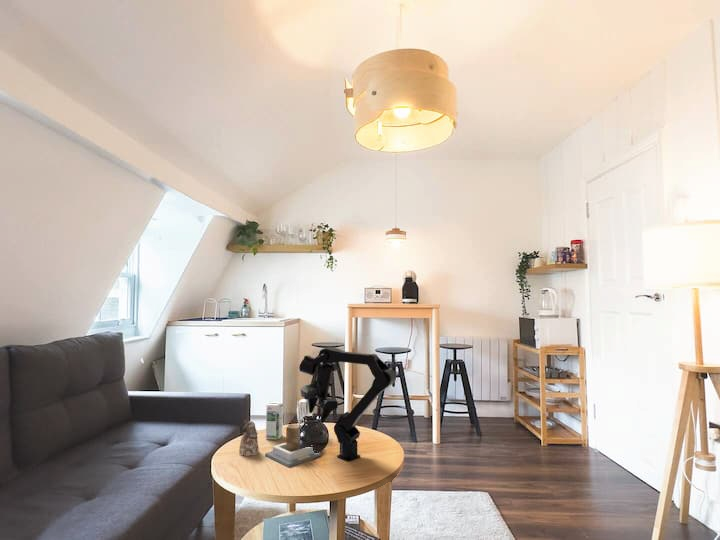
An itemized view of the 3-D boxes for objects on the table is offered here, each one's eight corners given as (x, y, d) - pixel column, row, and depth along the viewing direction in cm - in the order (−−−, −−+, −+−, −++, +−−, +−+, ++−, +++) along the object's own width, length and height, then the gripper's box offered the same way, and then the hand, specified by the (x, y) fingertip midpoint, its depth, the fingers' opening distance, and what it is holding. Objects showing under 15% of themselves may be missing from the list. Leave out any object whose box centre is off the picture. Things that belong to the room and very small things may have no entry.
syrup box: (265, 439, 173) (266, 404, 174) (270, 434, 178) (271, 401, 180) (278, 440, 172) (278, 405, 173) (282, 435, 178) (283, 401, 179)
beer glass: (315, 433, 180) (315, 399, 181) (308, 438, 174) (308, 402, 175) (301, 432, 182) (301, 398, 184) (293, 436, 176) (294, 401, 177)
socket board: (320, 455, 154) (321, 446, 155) (288, 467, 144) (288, 457, 144) (296, 446, 165) (297, 437, 165) (265, 456, 154) (265, 446, 154)
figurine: (247, 457, 152) (248, 424, 153) (235, 453, 156) (236, 421, 157) (262, 451, 158) (262, 420, 159) (249, 448, 162) (250, 417, 163)
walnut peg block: (300, 451, 156) (300, 424, 157) (297, 455, 152) (298, 428, 153) (288, 450, 157) (289, 424, 157) (285, 455, 152) (286, 427, 153)
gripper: (294, 371, 163) (287, 409, 163) (317, 387, 147) (309, 429, 148) (318, 371, 169) (311, 408, 169) (342, 387, 154) (334, 427, 154)
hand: (315, 417), depth 160 cm, fingers open, 9 cm apart
